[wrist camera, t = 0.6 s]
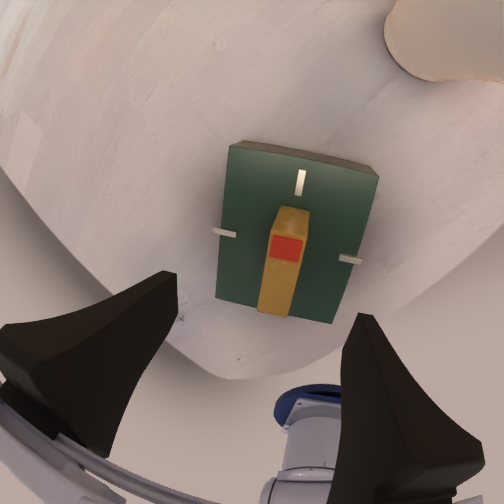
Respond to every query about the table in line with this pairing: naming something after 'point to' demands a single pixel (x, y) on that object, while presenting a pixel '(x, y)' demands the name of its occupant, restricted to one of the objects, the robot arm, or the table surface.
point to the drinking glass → (448, 39)
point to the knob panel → (297, 196)
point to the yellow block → (283, 260)
